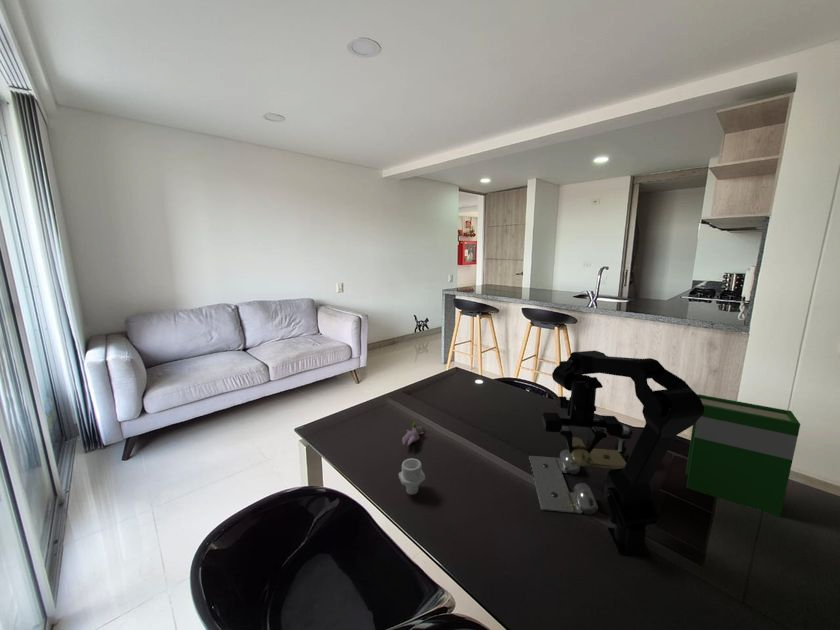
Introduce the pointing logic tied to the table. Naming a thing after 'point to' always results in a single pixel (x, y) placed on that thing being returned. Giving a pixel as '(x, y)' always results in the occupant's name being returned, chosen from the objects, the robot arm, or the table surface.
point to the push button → (623, 441)
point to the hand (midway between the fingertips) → (578, 452)
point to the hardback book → (742, 453)
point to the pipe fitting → (411, 475)
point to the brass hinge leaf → (596, 456)
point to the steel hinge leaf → (560, 485)
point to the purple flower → (412, 434)
